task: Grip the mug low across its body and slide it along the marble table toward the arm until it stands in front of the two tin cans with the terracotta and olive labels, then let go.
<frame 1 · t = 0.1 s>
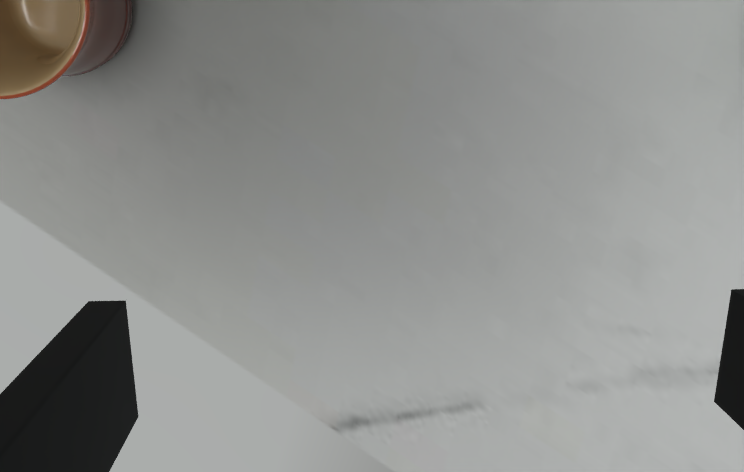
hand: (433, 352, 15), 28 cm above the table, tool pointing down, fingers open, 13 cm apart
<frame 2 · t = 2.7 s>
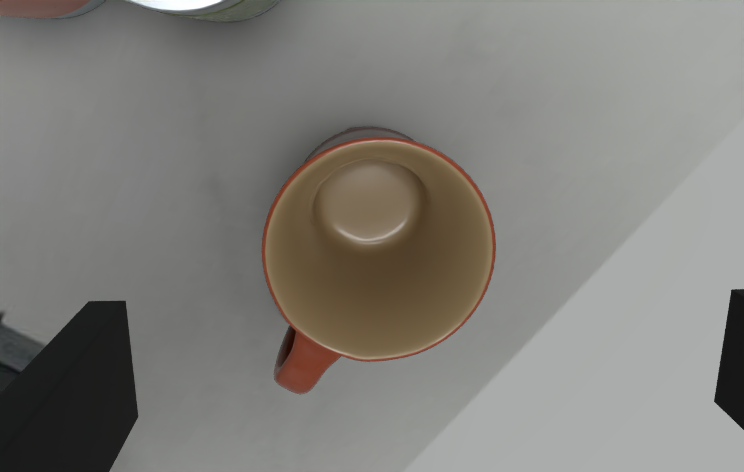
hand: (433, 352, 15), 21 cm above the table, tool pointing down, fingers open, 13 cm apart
mug: (351, 219, 36), on the table
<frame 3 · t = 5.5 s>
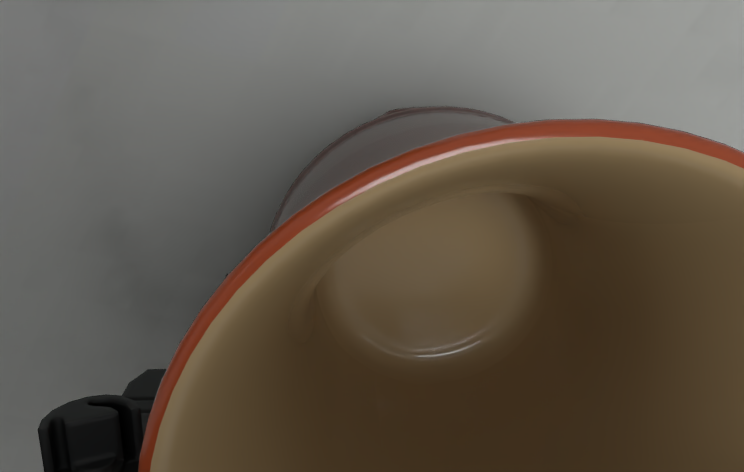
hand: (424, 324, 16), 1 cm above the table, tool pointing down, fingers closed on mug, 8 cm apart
mug: (388, 297, 18), on the table, touching gripper
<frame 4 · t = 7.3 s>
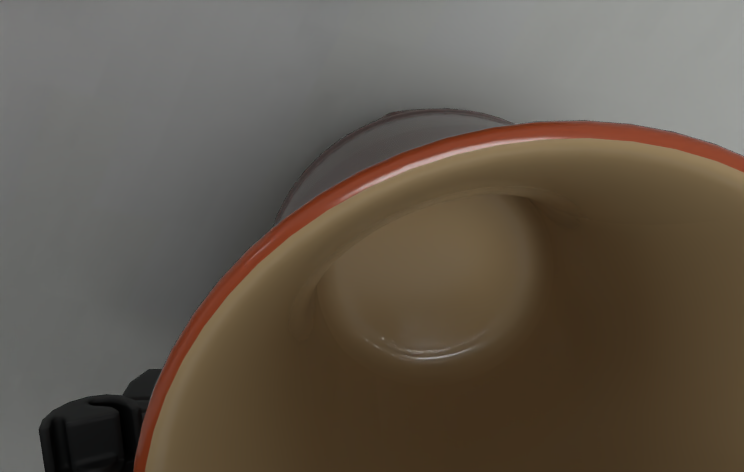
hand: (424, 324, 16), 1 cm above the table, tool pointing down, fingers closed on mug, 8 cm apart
mug: (390, 299, 18), on the table, touching gripper
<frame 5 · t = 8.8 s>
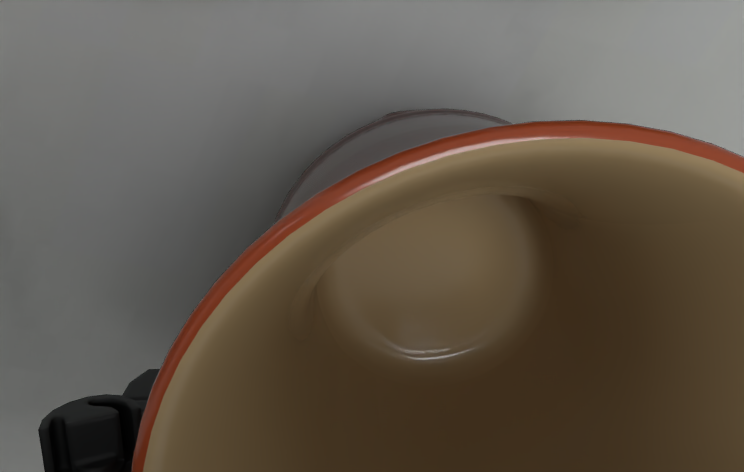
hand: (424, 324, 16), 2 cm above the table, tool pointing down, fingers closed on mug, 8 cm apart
mug: (390, 299, 18), on the table, touching gripper
when the fingers open (1 cm above the table, at t = 9.4 s): mug stays where it is, on the table.
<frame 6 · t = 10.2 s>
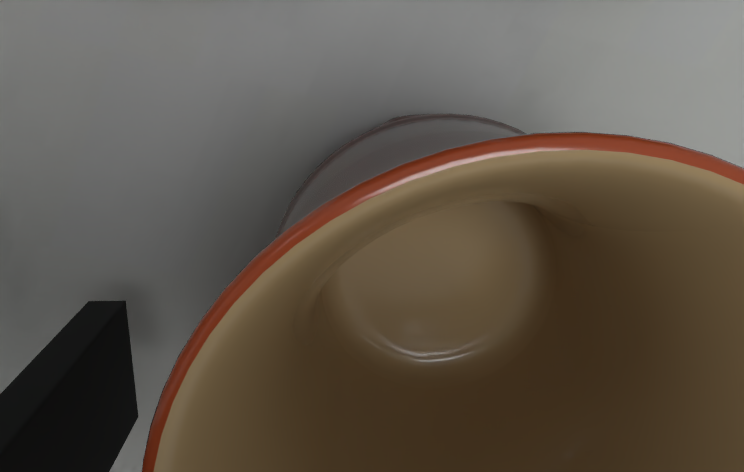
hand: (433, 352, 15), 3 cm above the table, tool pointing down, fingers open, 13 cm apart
mug: (394, 302, 18), on the table
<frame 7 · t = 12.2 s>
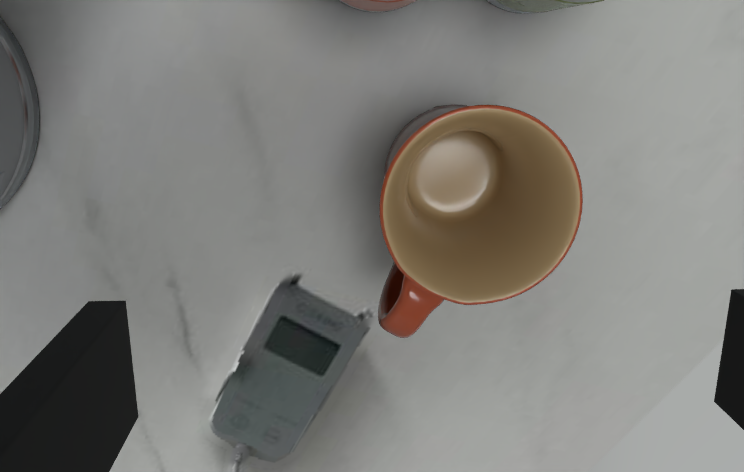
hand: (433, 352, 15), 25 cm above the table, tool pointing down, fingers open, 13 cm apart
mug: (432, 191, 39), on the table
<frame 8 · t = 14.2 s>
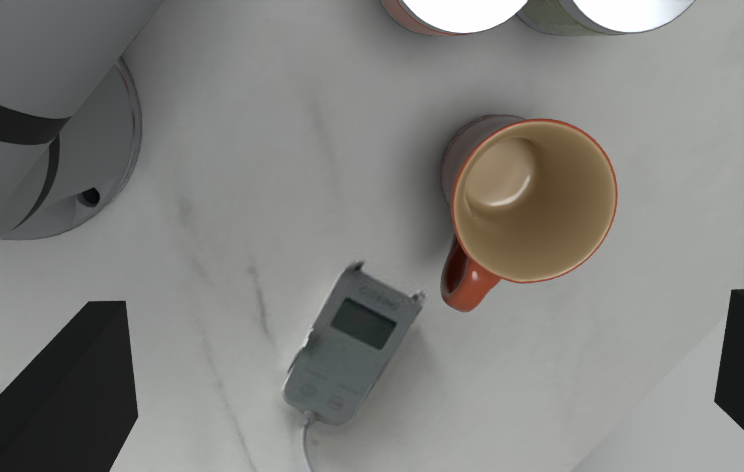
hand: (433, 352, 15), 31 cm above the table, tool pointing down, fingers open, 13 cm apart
mug: (478, 188, 46), on the table
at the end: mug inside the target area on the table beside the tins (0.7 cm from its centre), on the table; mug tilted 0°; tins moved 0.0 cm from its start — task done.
